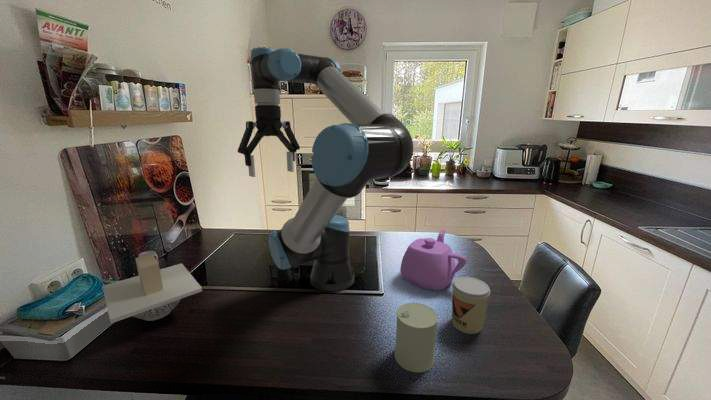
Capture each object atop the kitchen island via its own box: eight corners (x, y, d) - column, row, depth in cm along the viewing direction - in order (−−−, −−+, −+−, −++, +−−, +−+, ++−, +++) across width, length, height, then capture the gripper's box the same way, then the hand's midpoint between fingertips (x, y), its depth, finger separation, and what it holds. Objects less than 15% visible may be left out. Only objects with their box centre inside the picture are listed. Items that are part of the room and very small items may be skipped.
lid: (202, 291, 83) (198, 261, 80) (110, 323, 69) (102, 289, 67) (182, 266, 97) (178, 240, 94) (103, 289, 83) (95, 259, 81)
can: (390, 343, 74) (392, 301, 71) (427, 341, 75) (430, 299, 72) (399, 374, 65) (401, 327, 62) (440, 371, 66) (444, 325, 63)
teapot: (455, 303, 90) (459, 258, 86) (393, 282, 102) (395, 241, 98) (474, 273, 108) (479, 234, 104) (420, 258, 120) (423, 222, 116)
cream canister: (441, 318, 83) (445, 280, 80) (467, 310, 87) (471, 273, 84) (465, 340, 75) (470, 298, 72) (493, 330, 79) (499, 290, 76)
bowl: (174, 291, 96) (170, 270, 94) (199, 309, 87) (196, 286, 85) (113, 317, 83) (108, 293, 81) (136, 341, 74) (130, 315, 72)
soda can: (153, 292, 95) (146, 257, 92) (139, 290, 96) (132, 256, 93) (166, 283, 100) (160, 250, 97) (153, 282, 101) (147, 249, 98)
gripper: (295, 106, 102) (298, 168, 107) (221, 103, 85) (228, 177, 90) (308, 105, 96) (310, 170, 102) (231, 102, 80) (239, 180, 85)
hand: (272, 173), depth 96 cm, fingers open, 13 cm apart
